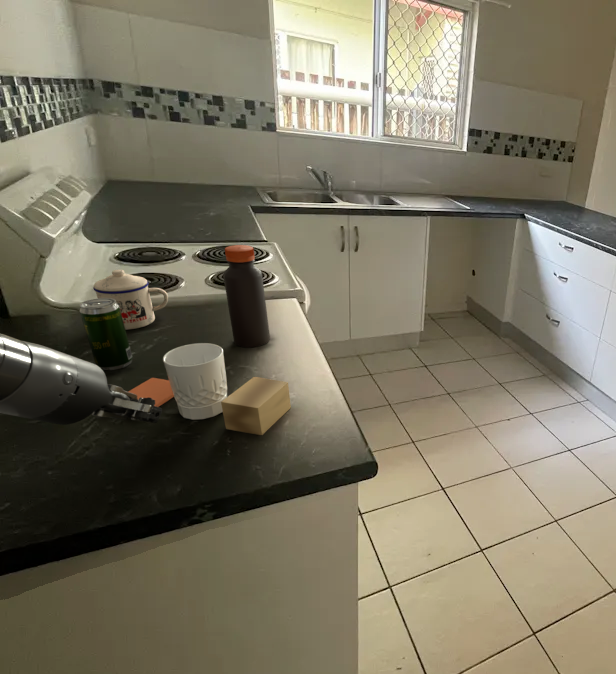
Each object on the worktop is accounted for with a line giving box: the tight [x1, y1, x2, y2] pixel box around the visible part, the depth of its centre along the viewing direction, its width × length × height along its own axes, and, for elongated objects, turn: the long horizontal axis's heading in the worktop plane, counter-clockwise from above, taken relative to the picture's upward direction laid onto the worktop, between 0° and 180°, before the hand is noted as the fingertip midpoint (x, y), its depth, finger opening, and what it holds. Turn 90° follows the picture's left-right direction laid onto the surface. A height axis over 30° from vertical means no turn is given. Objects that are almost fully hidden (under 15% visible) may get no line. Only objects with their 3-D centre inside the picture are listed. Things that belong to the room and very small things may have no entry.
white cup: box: [162, 342, 228, 421], centre depth 75 cm, size 8×8×10 cm
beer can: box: [79, 298, 134, 371], centre depth 84 cm, size 5×5×12 cm
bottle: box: [222, 244, 271, 348], centre depth 96 cm, size 7×7×20 cm
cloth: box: [127, 377, 175, 407], centre depth 78 cm, size 7×10×1 cm
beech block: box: [221, 376, 292, 436], centre depth 75 cm, size 6×8×5 cm
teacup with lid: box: [92, 269, 169, 331], centre depth 101 cm, size 12×9×12 cm
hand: (155, 415), depth 67 cm, fingers closed
